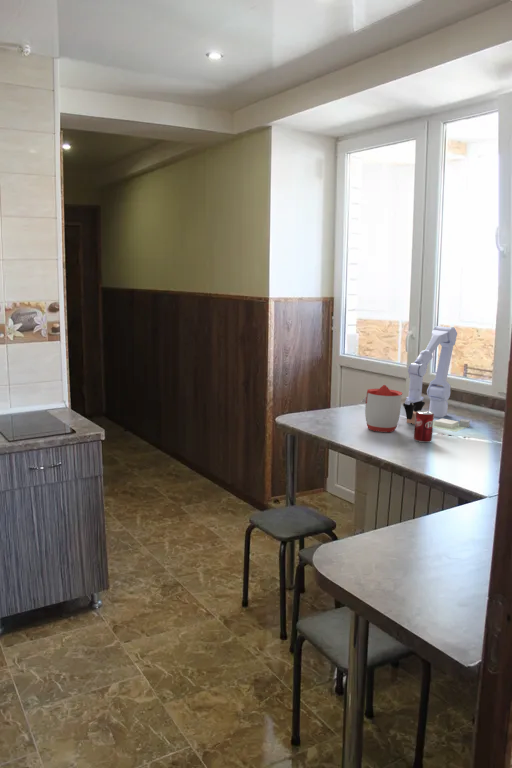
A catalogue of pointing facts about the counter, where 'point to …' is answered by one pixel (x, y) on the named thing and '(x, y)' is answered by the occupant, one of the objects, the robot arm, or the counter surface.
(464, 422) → the grey brick
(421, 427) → the soda can
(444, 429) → the baseplate
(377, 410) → the citrus juicer
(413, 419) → the salmon pink block
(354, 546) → the counter surface
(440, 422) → the cream square slab
